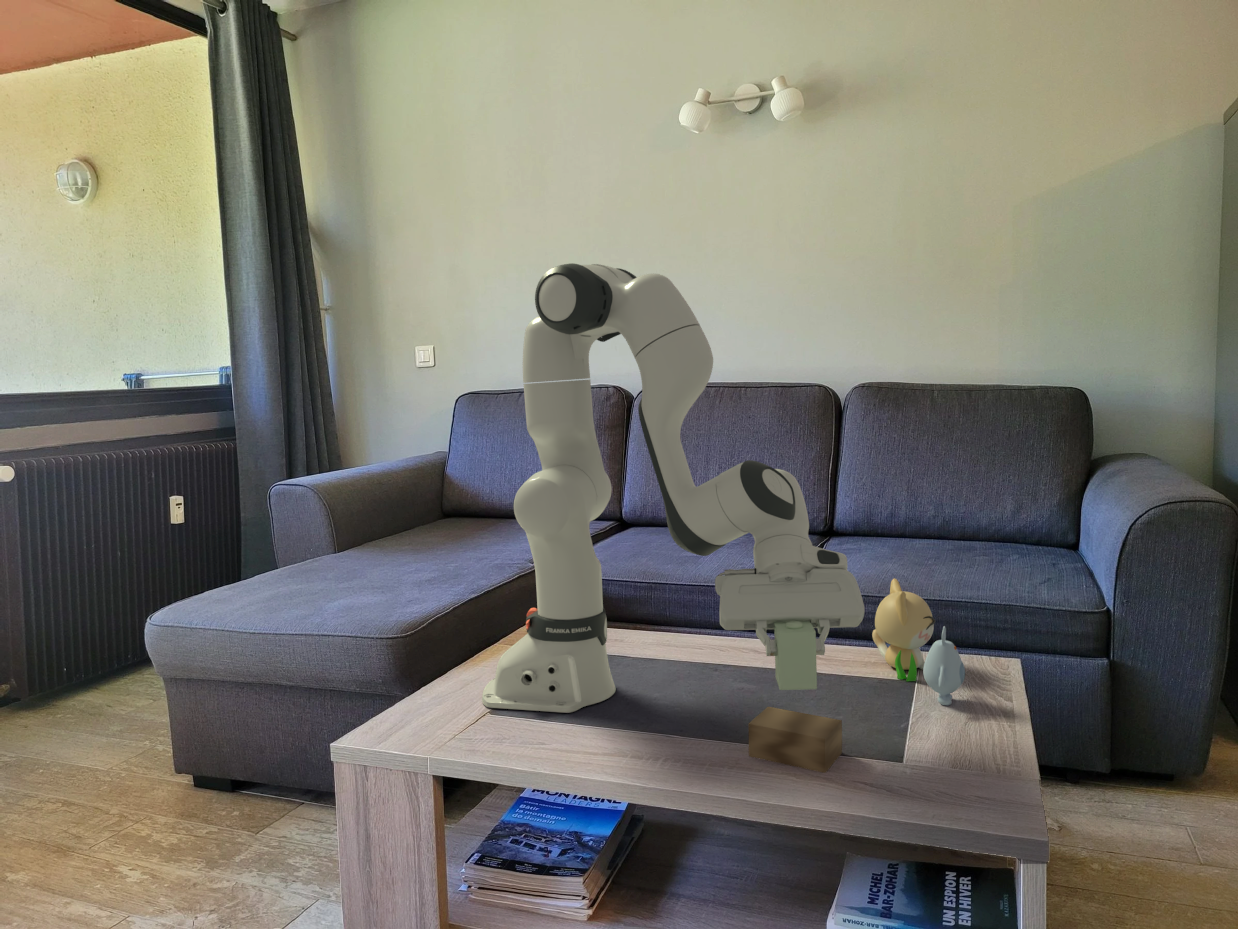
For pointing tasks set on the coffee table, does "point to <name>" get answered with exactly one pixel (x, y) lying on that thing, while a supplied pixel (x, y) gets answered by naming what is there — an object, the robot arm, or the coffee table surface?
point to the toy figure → (944, 669)
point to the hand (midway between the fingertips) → (795, 653)
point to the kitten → (903, 630)
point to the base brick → (795, 739)
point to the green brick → (795, 655)
